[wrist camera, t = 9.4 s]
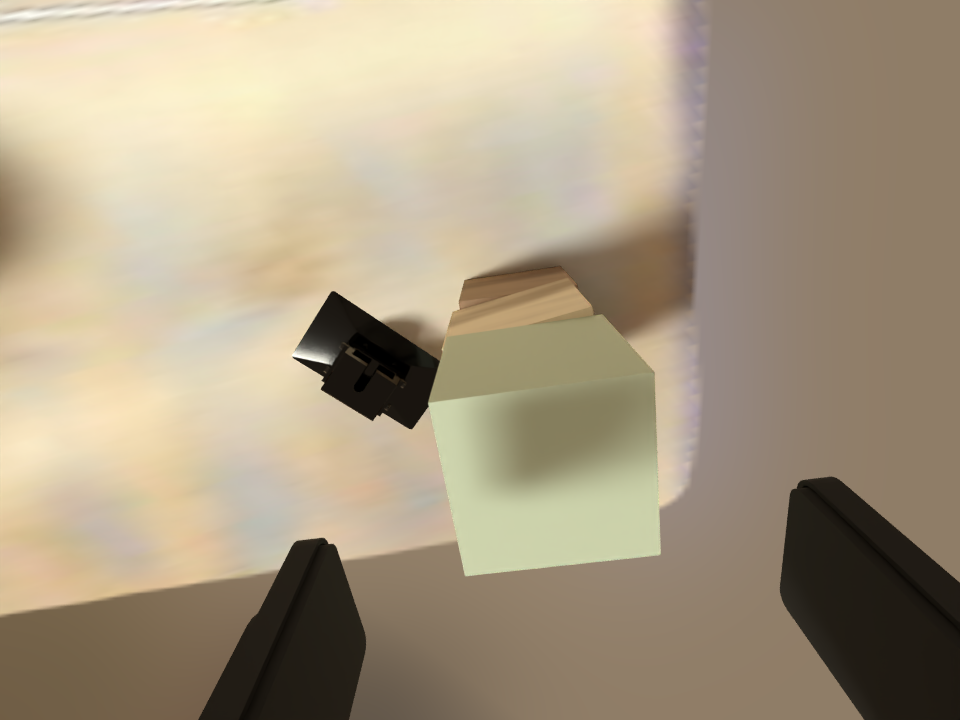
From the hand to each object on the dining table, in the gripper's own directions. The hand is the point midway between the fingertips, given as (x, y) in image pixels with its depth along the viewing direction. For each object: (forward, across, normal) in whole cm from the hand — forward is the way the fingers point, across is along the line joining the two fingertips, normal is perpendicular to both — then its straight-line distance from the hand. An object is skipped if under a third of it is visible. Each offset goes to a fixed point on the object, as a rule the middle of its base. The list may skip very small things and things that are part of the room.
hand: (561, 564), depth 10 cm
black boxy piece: (+22, +9, +3) cm, 25 cm away
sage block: (+10, 0, +1) cm, 10 cm away
